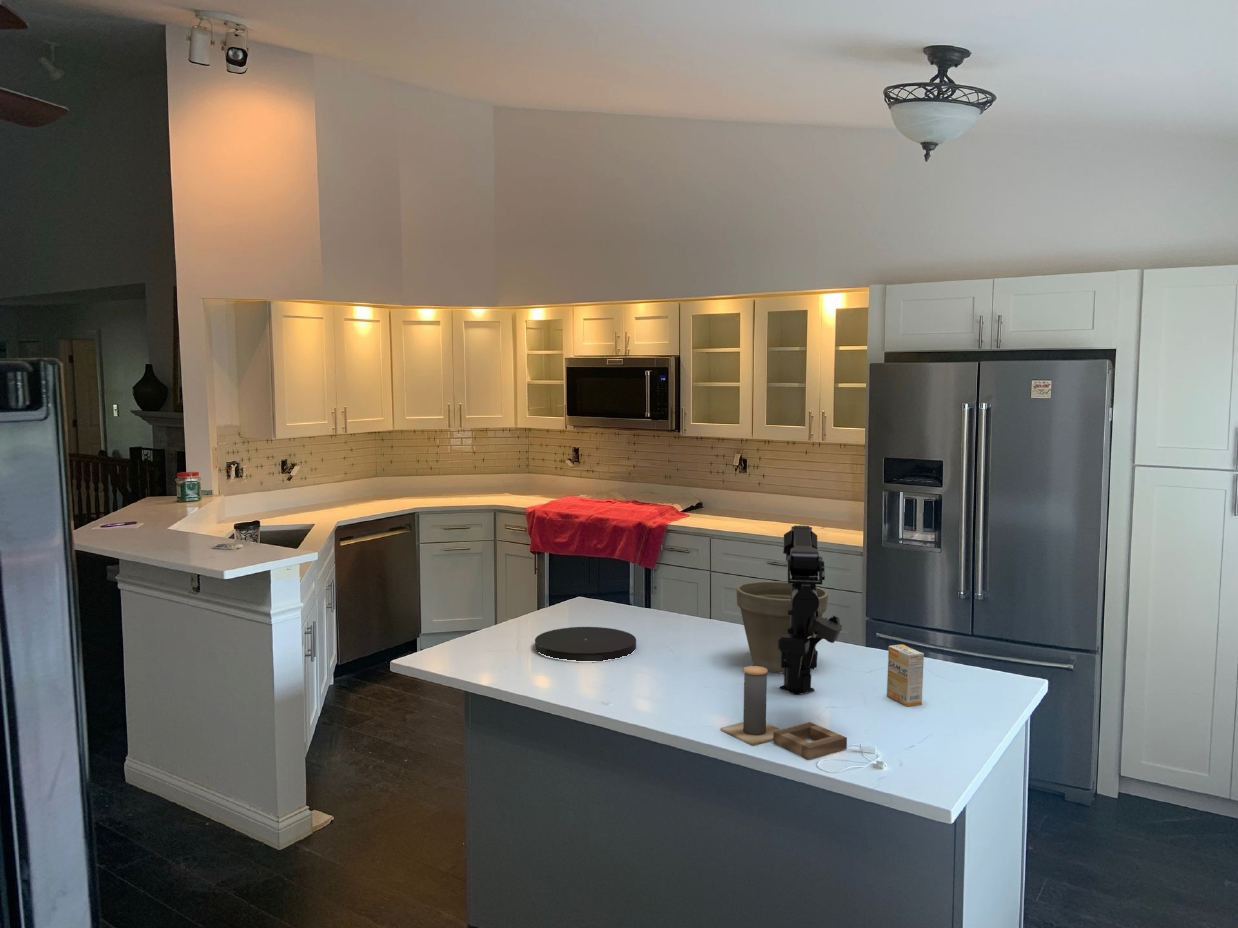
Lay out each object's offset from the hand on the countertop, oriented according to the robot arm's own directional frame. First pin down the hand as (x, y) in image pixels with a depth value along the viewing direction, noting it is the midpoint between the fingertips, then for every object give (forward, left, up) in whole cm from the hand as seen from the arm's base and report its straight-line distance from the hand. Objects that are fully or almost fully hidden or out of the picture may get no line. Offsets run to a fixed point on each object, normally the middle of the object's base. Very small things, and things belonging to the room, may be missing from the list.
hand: (801, 672), depth 214 cm
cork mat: (-1, -13, -12) cm, 18 cm away
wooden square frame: (+11, -8, -12) cm, 18 cm away
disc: (-80, -10, -13) cm, 81 cm away
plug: (-1, -13, -11) cm, 18 cm away
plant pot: (-36, +27, -12) cm, 47 cm away
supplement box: (+2, +33, -12) cm, 35 cm away
